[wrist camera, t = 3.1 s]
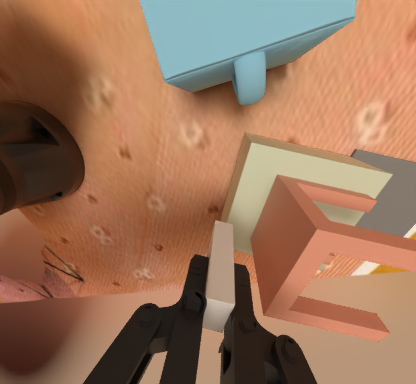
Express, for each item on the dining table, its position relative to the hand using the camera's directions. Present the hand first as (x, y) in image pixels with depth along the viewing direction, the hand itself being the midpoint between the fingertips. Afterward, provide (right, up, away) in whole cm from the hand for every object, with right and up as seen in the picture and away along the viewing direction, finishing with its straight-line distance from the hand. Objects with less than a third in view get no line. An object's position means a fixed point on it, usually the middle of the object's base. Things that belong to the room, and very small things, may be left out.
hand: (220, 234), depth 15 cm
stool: (+10, +1, +5) cm, 11 cm away
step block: (+9, +4, +12) cm, 15 cm away
